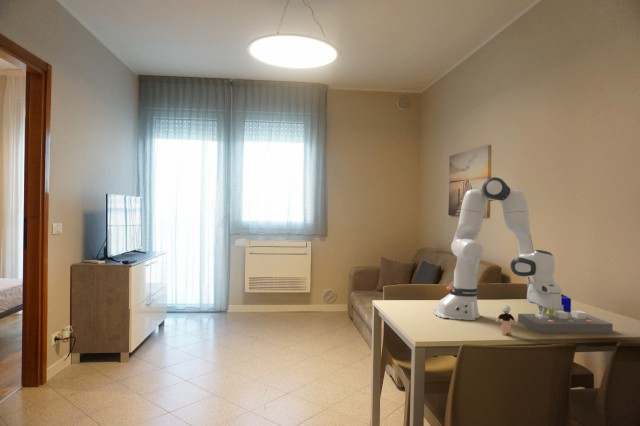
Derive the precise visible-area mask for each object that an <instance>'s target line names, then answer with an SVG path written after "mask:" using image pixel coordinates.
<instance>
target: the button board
mask: <svg viewBox="0 0 640 426" xmlns="http://www.w3.org/2000/svg"><path fill="white" fill-rule="evenodd" d="M535 314H536V313H517V323H519V324H521V325H522V326H525V327H527V329H528V328H529V329H530V330H532V331H533V332H536V333H538V334H571V333H572V334H585V333H586V334H601V333H602V334H611V333H613V327H614V326H613V323H611V322H609V321H606V320H604V319H601V318H598V317H596V316H593V315H592V314H591V315H590V314H586V319H577V318H575V317H572V313H571V314H568V319H558V318H556V317H554V314H546V315H547V316H549V319H540V318H537V317H535Z"/></svg>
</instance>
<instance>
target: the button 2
mask: <svg viewBox="0 0 640 426" xmlns="http://www.w3.org/2000/svg"><path fill="white" fill-rule="evenodd" d="M571 314H572V317H575V318H577V319H586V314H587V312H585V311H582V310H571Z"/></svg>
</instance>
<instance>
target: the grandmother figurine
mask: <svg viewBox="0 0 640 426" xmlns="http://www.w3.org/2000/svg"><path fill="white" fill-rule="evenodd" d="M501 310H502V311H503V313H501V314H499V315H498V317H497V319H496V321H495V322H497V323H499V322H500V320H501V333H500V334H501V335H502V334H503V335H502V336H509V335H512V336H513V333H512V322H513V324H514V325H515V324H517V322H516V319H515V317H514V316H513V315H512V314H511V313H510V312H511V307H510V306H509V305H507V304H505V305H503V306H502V307H501ZM511 321H512V322H511ZM507 334H508V335H507Z"/></svg>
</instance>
